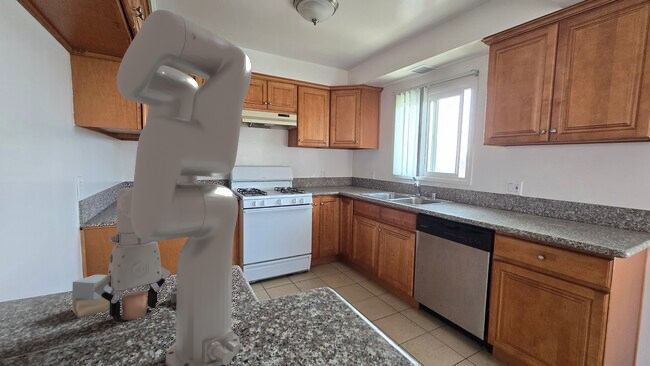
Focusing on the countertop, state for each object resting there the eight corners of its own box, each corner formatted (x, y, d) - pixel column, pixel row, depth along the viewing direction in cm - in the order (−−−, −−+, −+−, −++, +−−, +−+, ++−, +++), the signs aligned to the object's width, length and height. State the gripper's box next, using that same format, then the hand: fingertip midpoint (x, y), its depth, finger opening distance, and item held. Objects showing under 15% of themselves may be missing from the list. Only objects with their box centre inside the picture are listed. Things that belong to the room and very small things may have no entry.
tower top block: (115, 290, 73) (116, 275, 73) (93, 299, 67) (93, 283, 67) (95, 289, 74) (96, 274, 74) (72, 298, 68) (72, 281, 68)
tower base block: (114, 309, 71) (114, 293, 71) (78, 319, 66) (78, 302, 66) (106, 302, 75) (106, 287, 75) (72, 311, 70) (72, 295, 70)
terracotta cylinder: (150, 314, 68) (150, 293, 68) (126, 322, 64) (126, 300, 64) (141, 308, 71) (142, 289, 71) (118, 316, 67) (118, 295, 67)
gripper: (95, 246, 58) (93, 332, 58) (179, 235, 72) (178, 304, 72) (85, 242, 63) (83, 321, 63) (166, 232, 77) (165, 297, 77)
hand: (134, 311), depth 67 cm, fingers open, 6 cm apart
